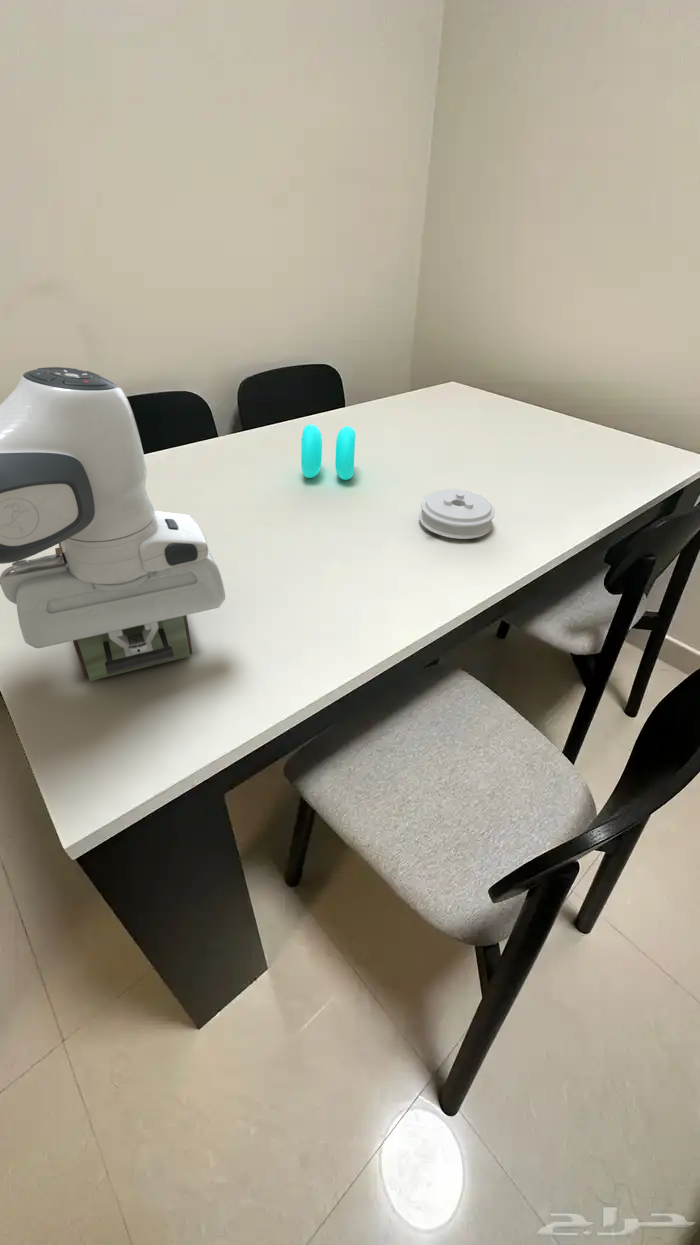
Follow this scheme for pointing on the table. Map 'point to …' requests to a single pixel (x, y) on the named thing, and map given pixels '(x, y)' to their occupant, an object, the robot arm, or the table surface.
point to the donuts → (313, 452)
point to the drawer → (112, 660)
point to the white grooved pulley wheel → (457, 513)
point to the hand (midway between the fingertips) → (138, 651)
